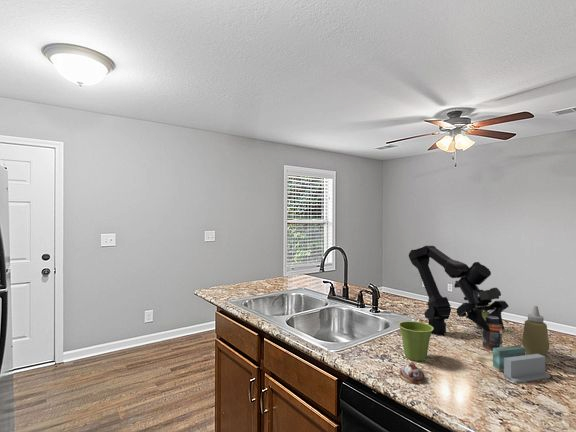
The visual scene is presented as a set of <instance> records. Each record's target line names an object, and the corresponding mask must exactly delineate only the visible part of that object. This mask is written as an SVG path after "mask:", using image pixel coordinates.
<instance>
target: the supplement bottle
mask: <svg viewBox="0 0 576 432" xmlns="http://www.w3.org/2000/svg"><path fill="white" fill-rule="evenodd" d="M485 322H486V323H487V325H488V327H489V329H490V331H489V332H487V331H486V330H484V329H482V347H483V348H484V349H485V350H487V351H490V352H493V348H499V347H503V330H502V325H501V324H500V323H499V318H498V317H496V316H486V321H485Z"/></svg>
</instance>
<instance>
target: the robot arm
mask: <svg viewBox="0 0 576 432" xmlns="http://www.w3.org/2000/svg"><path fill="white" fill-rule="evenodd" d="M408 258H409V260H410V263H411V265H413V266H414V267H415V268H416V269H417V271H418V273H419V276H420V279H421V281H422V284H423V286H424V288H425V292H426V294H427V296H428V302H427V307H428V308H427V309H426V310H425V311H424V317H425V319H427V320H428V323H427V324H428V325H431V326H432V327H433V328H434V329H433V331H432V333H431V335H436V336H441V337H442V336H443V337H444V336H445V334H446V333H447V322H446V320H449V319H450V315H451V313H452V309H451V304H450V302H449V298H447V296H444V297H443V296H442V295H441V293H440V290H439V288H438V286H437V284H436V281H435V279H434V276H433V274H432V271H431V269H430V266H429V264H430V261H431V260H430V259H432V260H433V261H435V262H436V263H437V264H439V265H440V266H441V267H442V268H443V270H444V272H445V273H446V275H448V276H449V277H450V278H452V279H459V280H455V282H454V287H453V288H455V289H457V288H459V289H460V291H461V292H462V294H463V295H464V297H463V300H464V301H467V302H462V304H460V305H459V306H458V307H457V308H456V313H457V315H458V316H457V317H460V318H463V317H465V318H466V319H468V320H470V321H472V322H473V323H475V325H476V324H477V325H479V326H480V327H482V328H483V329H484V330H486V331H487V332H489V331H490V329H489V327H488V325H487V323H486V322H485V320H484V318H483V316H482V311H488V312H489V313H490V314H489V315H488V316H496V317H498V318H499V323H500V324H501V325H502V331H504V330H505V326H504V322H503V318H502V312H503V311H505V310H506V309H507V308H509V304H508V303H507V302H506V301H505V300H498V299H500V297H501V296H502V293H501V291H500V289H499V288H498V287H491V288H489V289H486V290H483V289H480V288H479V286H480V285H482V284H483V283H484V282H485V281H486V280H487V279H488V278H489V277H491V275H492V271H491V270H490V269H489V268H488V267H487V266H486V265H484V264H481V262H480V261H476V262H475V261H474V262H473V263H472V264H471V266H468V265H467V264H466V263H464V262H463V261H459V260H457V259H456V260H455V259H453V258H452V257H450V256H448V255H446V254H445V253H444V252H442V251H441V250H440V249H438V248H437V247H436V246H434V245H424V246H422V247H419V248H416V249H411V250H410V251H409V252H408ZM493 300H495V301H493ZM491 302H492V303H491ZM489 304H491V305H489ZM477 325H476V326H477ZM483 329H482V330H483Z"/></svg>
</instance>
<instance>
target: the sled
mask: <svg viewBox="0 0 576 432" xmlns="http://www.w3.org/2000/svg"><path fill="white" fill-rule="evenodd" d="M524 355H526V352H525V348H524V347H523V345H522V346H521V345H519V344H518V345H510V346H502V347H499V348H493V351H492V352H489V353H483V354H481V353H480V354H478V353H476V352H471V358H472V359H473V360H476V362H477V361H478V362H479V363H481V364H483V365H485V366H487V367H489V368H490V369H493V370H495V371H496V372H499V373H501V372H504V358H507V357H515V356H524Z"/></svg>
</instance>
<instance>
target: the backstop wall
mask: <svg viewBox="0 0 576 432" xmlns="http://www.w3.org/2000/svg"><path fill="white" fill-rule="evenodd" d="M503 377H504V378H505V379H508V380H510V381H511V382H513V383H515V384H519V383H525V382H532V381H539V380H546V379H551V374H549V373H546V356H542V355H540V354H532V355H528V354H525V355H524V356H515V357H507V358H504V371H503Z"/></svg>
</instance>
